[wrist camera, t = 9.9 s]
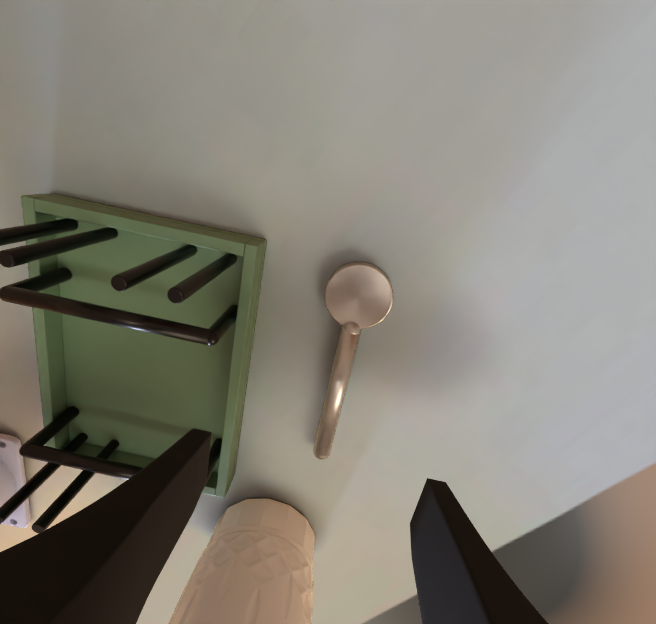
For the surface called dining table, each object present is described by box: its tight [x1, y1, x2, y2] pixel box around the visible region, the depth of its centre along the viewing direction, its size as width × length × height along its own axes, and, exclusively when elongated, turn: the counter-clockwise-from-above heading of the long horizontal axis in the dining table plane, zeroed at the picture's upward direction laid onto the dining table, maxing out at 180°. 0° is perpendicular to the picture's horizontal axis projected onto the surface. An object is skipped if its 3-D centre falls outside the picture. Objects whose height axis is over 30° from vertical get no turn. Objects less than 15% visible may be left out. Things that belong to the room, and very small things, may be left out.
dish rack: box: [0, 218, 238, 533], centre depth 18 cm, size 14×10×6 cm
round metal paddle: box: [314, 262, 393, 459], centre depth 20 cm, size 12×3×1 cm, turn 169°
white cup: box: [168, 498, 315, 624], centre depth 21 cm, size 8×8×10 cm
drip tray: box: [21, 193, 267, 498], centre depth 21 cm, size 16×11×2 cm
